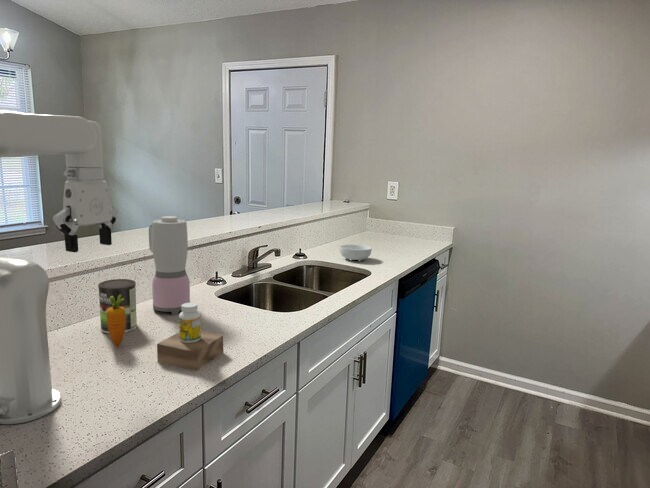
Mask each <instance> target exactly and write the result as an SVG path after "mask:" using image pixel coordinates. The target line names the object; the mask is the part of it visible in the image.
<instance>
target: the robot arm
mask: <svg viewBox="0 0 650 488" xmlns="http://www.w3.org/2000/svg"><path fill="white" fill-rule="evenodd" d="M102 143H103V142H102V127H101V125H100V124H99V123H98V122H97V121H93V120H88V119H86V118H85V117H83V116H77V115H75V116H73V115H57V114H41V113H40V114H37V113H28V112H27V113H25V112H18V111H9V110H0V158H3V159H4V158H21V157H32V156H33V157H34V156H55V155H60V156H61V155H64V156H65V170H64V171H63V176H64V177H66V181H65V182H64V188H63V197H62V198H63V200H62V202H63V203H62V204H63V205H62V209H61V210H60V211H59V212H58V213H55V214H54V215H53V216H52V221H53V222H54V224H55V225H56V228H57V229H58V230H59V231H60V233H61V234H62V235H64V245H65V251H66V252H69V253H78V252H79V239H78V237H79V236H78V235H77V234H76V232H77V231H78V229H79V227H88V226H94V225H98V226H100V227H99V228H98V233H99V234H98V235H99V244H100V245H105V246H111V245H112V243H113V242H112V240H113V239H112V229H113V228H114V224H115V223H116V220H117V215H118V213H119V210H118V209H117V208H115V207H113V206H112V201H111V199H112V198H111V195H110V189H109V186H108V185H109V184H108V183H107V181H106V180H104V178H105V177H104V164H103V163H104V162H103V161H104V160H103V144H102ZM49 286H50V279H49V276H48V273H47V272H46V269H44V268H43V267H42V266H41V265H39V263H38V264H37V263H36V262H34V261H30V260H27V259H22V258H21V259H20V258H13V257H4V256H3V257H2V256H1V257H0V425H16V424H23V423H28V422H31V421H35V420H38V419H40V418H43V417H45V416H46V415H49V414H51V413H52V412H54V410H56V409H57V408H58V407H59V406H60V404H61V402H62V394H61V392H60V391H59V390H56V389H55V388H52V387H53V385H52V374H51V364H50V363H51V361H50V360H51V359H50V349H49V348H50V347H49V338H48V328H47V301H48V294H49V289H50V287H49Z"/></svg>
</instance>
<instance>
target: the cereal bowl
mask: <svg viewBox="0 0 650 488" xmlns="http://www.w3.org/2000/svg"><path fill="white" fill-rule="evenodd" d="M339 253H340V255H341V256H342V257H343V258H345V259H347V260H348V259H351V260H362V261H364V260H366V259H368V258H369V257H370V256H371V254H372V247H370V246H369V245H365V244H354V243H353V244H342V245H340V246H339Z"/></svg>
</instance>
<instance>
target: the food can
mask: <svg viewBox="0 0 650 488" xmlns="http://www.w3.org/2000/svg"><path fill="white" fill-rule="evenodd" d="M136 282H137V281H136V280H133V279H129V278H115V279H109V280H108V279H107V280H104V281H101V282H99V283H98V284H97V287H98V299H99V314H100V317H99V318H100V320H99V321H100V331H101V332H102V333H104V334H109V330H108V324H107V314H106V311H107V309H109V308H111V307H113V306H112V303H111V300H110V297H111V296H113V297H114V300H115V302H116V301H117V299H118V296H119V295H121V298H120V299H122V298H124V301H122V302H121V303H120V305H119V306H120V307H123V308H124V309H125V318H126V322H125V332H124V334H126V333H129V332H132V331H134V330H136V329H137V327H138V323H137V321H138V320H137V319H138V318H137V298H136V296H137V295H136V294H137V293H136V291H137V289H136V286H137V283H136ZM109 335H110V334H109Z"/></svg>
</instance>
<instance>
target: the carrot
mask: <svg viewBox="0 0 650 488" xmlns="http://www.w3.org/2000/svg"><path fill="white" fill-rule="evenodd" d="M120 298H121V295H119V296H118V299H117V301H116V302H115V300H114V297H113V296H111V297H110V300H111V303H112V306H113V307H111V308H109V309H107V311H106V314H107V324H108V330H109V337H110V339H111V341H112V343H113V344H114V346H115V347H116V348H119V347H120V346H121V344H122V342H123V339H124V336H125V333H124V332H125V322H126V318H125V309H124V308H123V307H120V306H119V305H120V303H121V302H122V301H124V298H122V299H120Z"/></svg>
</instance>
